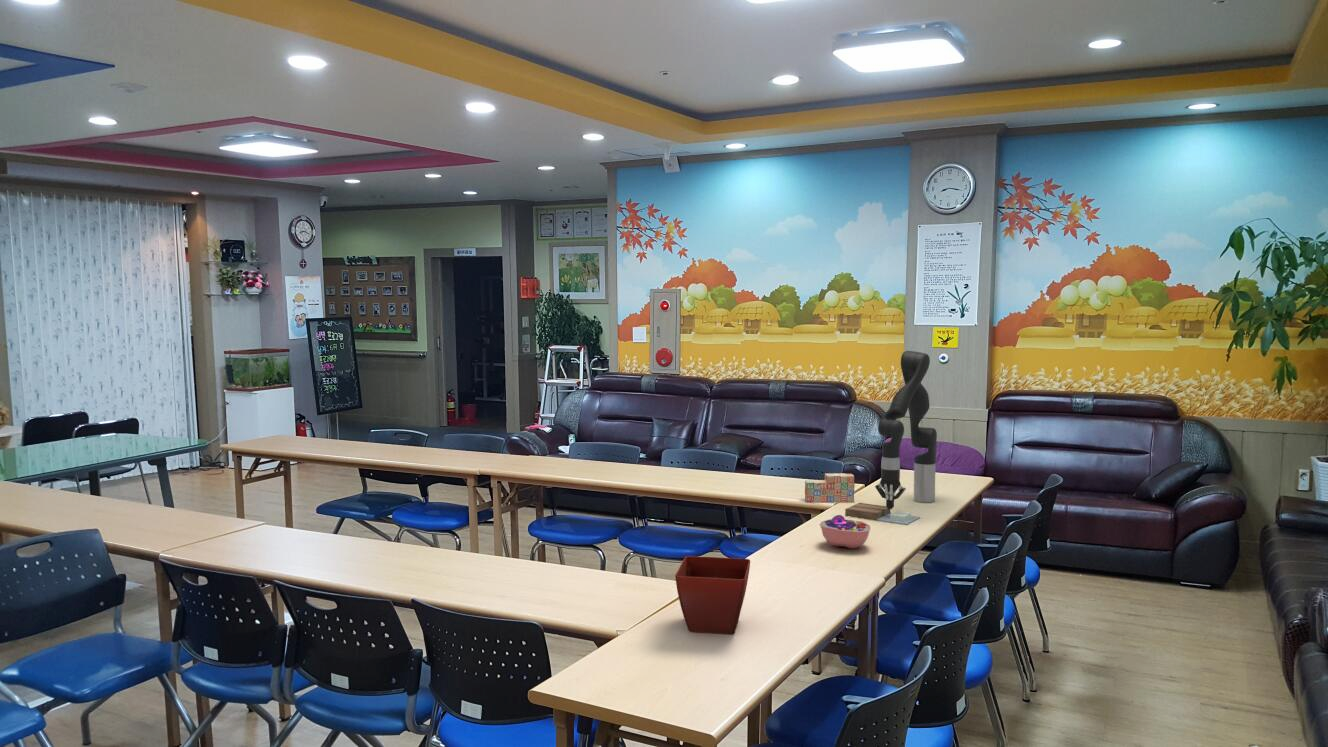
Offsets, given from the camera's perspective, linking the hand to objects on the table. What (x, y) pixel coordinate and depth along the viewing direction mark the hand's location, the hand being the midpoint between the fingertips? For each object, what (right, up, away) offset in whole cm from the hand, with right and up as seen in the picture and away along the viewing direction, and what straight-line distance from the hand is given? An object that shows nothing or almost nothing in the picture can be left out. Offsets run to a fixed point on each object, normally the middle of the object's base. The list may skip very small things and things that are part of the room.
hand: (890, 508), depth 371 cm
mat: (+3, -4, -2) cm, 6 cm away
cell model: (-27, -8, -42) cm, 51 cm away
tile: (+4, -2, -3) cm, 5 cm away
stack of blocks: (-19, -2, +33) cm, 38 cm away
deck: (-8, -4, +6) cm, 10 cm away
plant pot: (-80, -15, -121) cm, 146 cm away
